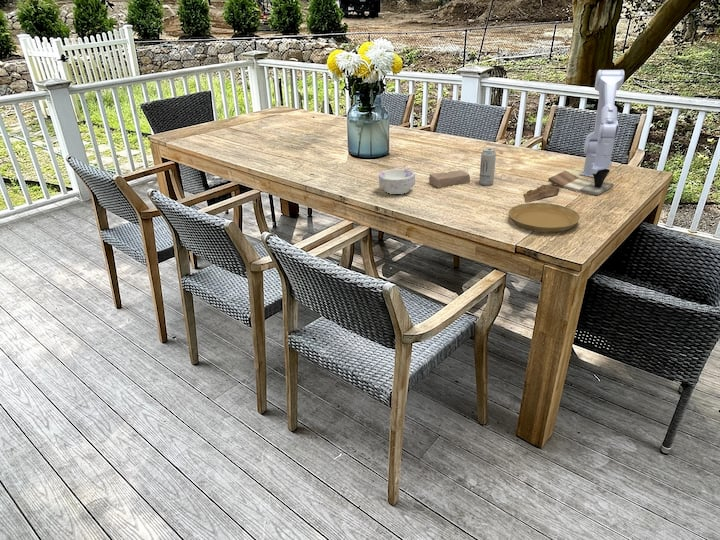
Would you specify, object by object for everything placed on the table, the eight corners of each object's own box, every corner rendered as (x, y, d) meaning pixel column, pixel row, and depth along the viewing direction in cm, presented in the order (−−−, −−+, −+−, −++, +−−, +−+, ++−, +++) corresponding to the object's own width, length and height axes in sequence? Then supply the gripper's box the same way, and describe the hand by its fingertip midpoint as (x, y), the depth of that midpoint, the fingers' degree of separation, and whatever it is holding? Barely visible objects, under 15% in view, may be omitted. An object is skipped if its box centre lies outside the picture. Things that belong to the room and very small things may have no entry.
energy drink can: (476, 184, 223) (478, 150, 216) (484, 180, 227) (486, 147, 220) (488, 187, 219) (491, 152, 212) (496, 183, 223) (499, 149, 216)
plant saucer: (509, 208, 198) (510, 200, 196) (576, 212, 191) (577, 204, 190) (506, 233, 178) (507, 224, 176) (581, 239, 171) (582, 229, 170)
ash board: (579, 180, 222) (579, 177, 222) (595, 183, 218) (595, 180, 217) (563, 188, 214) (563, 185, 213) (579, 192, 209) (579, 189, 209)
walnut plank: (562, 188, 214) (563, 186, 213) (547, 180, 218) (548, 178, 217) (578, 180, 223) (579, 177, 222) (564, 172, 226) (565, 170, 225)
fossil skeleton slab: (547, 184, 221) (548, 181, 220) (571, 189, 213) (571, 187, 213) (511, 199, 207) (511, 196, 206) (535, 206, 199) (535, 203, 199)
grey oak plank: (595, 184, 217) (596, 181, 217) (612, 186, 213) (613, 183, 212) (580, 192, 209) (580, 189, 209) (597, 195, 204) (597, 192, 204)
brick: (460, 178, 233) (460, 168, 230) (470, 183, 226) (471, 173, 223) (428, 184, 227) (428, 173, 225) (437, 189, 220) (438, 179, 218)
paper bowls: (373, 189, 223) (373, 171, 219) (405, 183, 228) (405, 166, 224) (388, 200, 211) (387, 181, 207) (421, 194, 215) (421, 175, 212)
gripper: (601, 148, 211) (596, 180, 217) (585, 156, 202) (580, 189, 208) (619, 151, 206) (613, 184, 212) (603, 159, 197) (597, 192, 204)
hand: (597, 186), depth 210 cm, fingers closed, pressing on grey oak plank
